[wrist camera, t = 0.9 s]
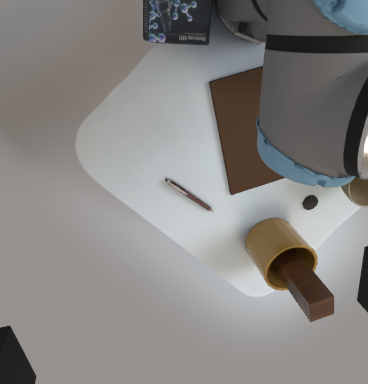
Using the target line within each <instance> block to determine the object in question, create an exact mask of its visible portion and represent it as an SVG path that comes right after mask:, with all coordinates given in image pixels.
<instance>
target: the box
mask: <svg viewBox="0 0 368 384" xmlns="http://www.w3.org/2000/svg"><path fill="white" fill-rule="evenodd" d="M211 11H212V0H143V38H144V40H146V41H148V42H153V43H169V44H190V45H208V44H209V36H210V24H211Z"/></svg>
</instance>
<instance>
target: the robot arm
mask: <svg viewBox="0 0 368 384" xmlns="http://www.w3.org/2000/svg"><path fill="white" fill-rule="evenodd" d="M212 2H213V6H214V8H215V11H216V13H217V15H218V17H219V19H220V20H221V22H222V23H223V24H224V26H225V27H226V28H227V29H228V30H229V31H230V32H232V33H233V34H234V35H236V36H238V37H240V38H242V39H244V40H248V41H252V42H255V43H257V44H260V43H262V42H266V46H265V53H264V64H263V75H262V86H261V97H260V108H259V115H258V116H257V121H256V125H257V130H258V135H257V149H258V152H259V155H260V157H261V159H262V161H263V162H264V163H265V164H266V165H267V166H268V167H269V168H270V169H272V170H273V171H275V172H276V173H278V174H280V175H281V176H283V177H286V178H288V179H290V180H293V181H296V182H299V183H302V184H306V185H311V186H314V185H316V184H319V185H321V186H323V187H338V186H342V185H346V184H348V183H349V182H351V181H352V180H353V179H354V178H355V177H358V178H362V179H368V0H212ZM357 301H358V302H359V303H360V304H361V305H362V307H363V308H364V309H365V310H366V311H367V312H368V246H367V247H365V250H364V256H363V263H362V270H361V277H360V284H359V291H358V298H357ZM35 380H36V375H35V373H34V371H33V369H32V367H31V365H30V363H29V361H28V359H27V357H26V355H25V353H24V352H23V350H22V348H21V346H20V344H19V342H18V340H17V338H16V336H15V334H14V332H13V331H12V328H11V327H10V326H6V327H1V328H0V384H35Z"/></svg>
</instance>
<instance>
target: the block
mask: <svg viewBox="0 0 368 384" xmlns="http://www.w3.org/2000/svg"><path fill="white" fill-rule="evenodd" d="M271 265H272V267H273V268H274V269H275V271H276V272H277V274H278V275H279V277H280V278H281V280H282V281H283V283H284V284H285V286H286V287H287V288H288V290H289V291H290V293H291V294H292V295H293V297H294V299H295V300H296V302H297V303H298V304H299V306H300V307H301V309H302V310H303V312H304V313H305V314H306V316H307V318H308V319H309V321H310V322H312V321H315V320H318V319H321V318H323V317H326V316H329V315H332V314H334V296H333V294H332V293H331V292H330V291H329V290H328V288H327V287H326V286H325V285H324V284H323V282H322V281H321V280H320V279H319V278H318V276H317V275H316V274H315V273H314V272H313V270H312V269H311V268H310V267H309V266H308V264H307V263H306V262H305V261H304V260H303V258H302V257H301V256H300V255H299V254H298V252H297V251H296V250H295V249H294V248H291V249H288V250H285V251H284V252H282V253H281V254H279V255H278V256H277V257H276V258H275V259H274V260H273V261H272V262H271Z"/></svg>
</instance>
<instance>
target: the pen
mask: <svg viewBox="0 0 368 384" xmlns="http://www.w3.org/2000/svg"><path fill="white" fill-rule="evenodd" d="M165 180H166V181H167V183H168V184H169V185H171V186H172V187H174V188H175V189H177V190H178V191H180V192H181V193H182V194H184V195H186V196H187V197H189V198H190V199H192V200H193V201H195V202H196V203H198V204H199V205H201V206H203V207H204V208H206V209H207V210H209V211H213V210H212V208H211V207H209V206H208V205H206V204H205V203H203V202H202V201H201V200H199V199H198V198H196V197H195V196H193V195H192V194H190V193H189V192H188V191H186V190H185V189H183V188H182V187H180V186H179V185H177V184H175V183H174V182H172V181H171V180H167V179H165ZM213 212H214V211H213Z"/></svg>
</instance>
